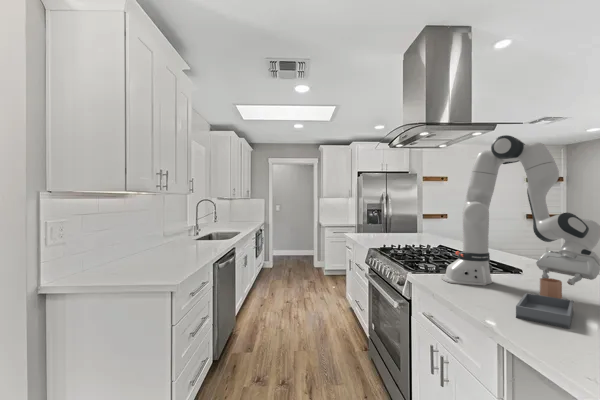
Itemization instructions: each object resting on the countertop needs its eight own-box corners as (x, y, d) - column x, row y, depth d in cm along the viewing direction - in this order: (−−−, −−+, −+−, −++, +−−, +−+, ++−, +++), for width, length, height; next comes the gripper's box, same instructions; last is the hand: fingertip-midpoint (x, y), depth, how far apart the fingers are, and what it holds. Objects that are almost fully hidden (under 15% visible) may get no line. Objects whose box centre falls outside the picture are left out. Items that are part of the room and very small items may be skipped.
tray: (569, 328, 100) (569, 316, 100) (516, 317, 109) (516, 305, 109) (573, 311, 114) (573, 300, 114) (525, 303, 124) (525, 292, 124)
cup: (553, 305, 121) (553, 282, 121) (536, 300, 127) (536, 278, 127) (565, 303, 123) (565, 281, 123) (547, 298, 129) (547, 277, 129)
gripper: (542, 245, 138) (526, 270, 135) (599, 253, 119) (582, 282, 116) (550, 255, 140) (534, 279, 137) (607, 264, 120) (590, 293, 117)
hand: (556, 281), depth 126 cm, fingers open, 8 cm apart
